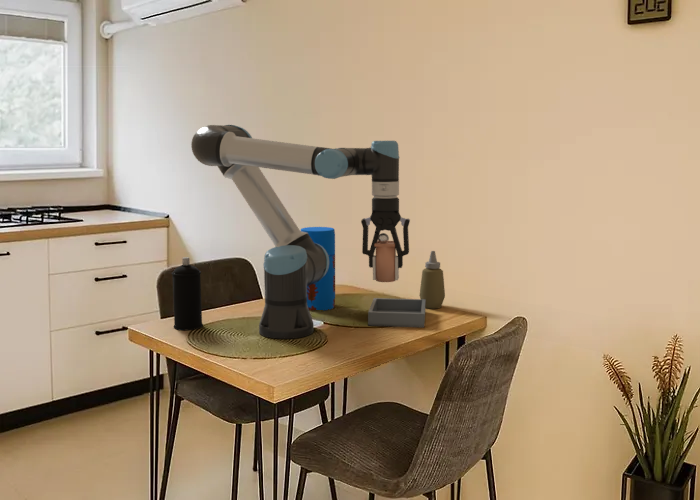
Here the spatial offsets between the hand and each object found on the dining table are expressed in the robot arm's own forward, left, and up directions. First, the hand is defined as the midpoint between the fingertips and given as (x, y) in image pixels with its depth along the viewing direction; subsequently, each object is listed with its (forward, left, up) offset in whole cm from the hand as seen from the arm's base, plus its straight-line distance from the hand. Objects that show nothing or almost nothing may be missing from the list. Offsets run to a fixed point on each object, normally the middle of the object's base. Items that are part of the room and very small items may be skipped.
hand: (385, 278), depth 203 cm
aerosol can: (-56, -6, -14) cm, 58 cm away
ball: (-1, -1, +12) cm, 12 cm away
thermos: (-23, +22, -14) cm, 35 cm away
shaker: (0, 0, 0) cm, 0 cm away
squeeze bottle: (+13, +26, -14) cm, 33 cm away
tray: (+3, +10, -14) cm, 18 cm away
